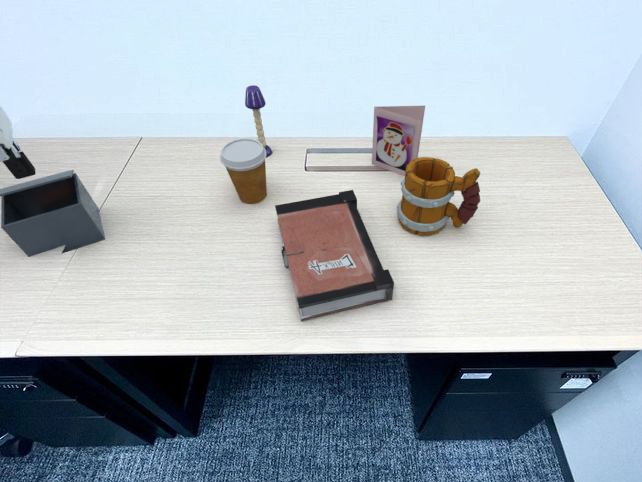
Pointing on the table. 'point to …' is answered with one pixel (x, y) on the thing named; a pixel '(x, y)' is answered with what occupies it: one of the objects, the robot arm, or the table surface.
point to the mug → (435, 196)
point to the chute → (52, 217)
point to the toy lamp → (257, 112)
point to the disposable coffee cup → (246, 168)
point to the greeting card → (396, 136)
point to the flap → (36, 183)
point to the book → (331, 256)
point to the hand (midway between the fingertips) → (26, 174)
